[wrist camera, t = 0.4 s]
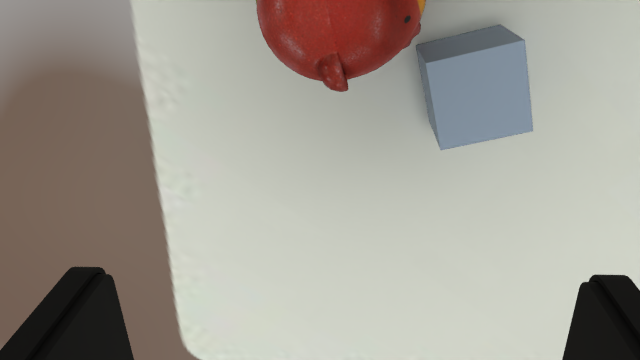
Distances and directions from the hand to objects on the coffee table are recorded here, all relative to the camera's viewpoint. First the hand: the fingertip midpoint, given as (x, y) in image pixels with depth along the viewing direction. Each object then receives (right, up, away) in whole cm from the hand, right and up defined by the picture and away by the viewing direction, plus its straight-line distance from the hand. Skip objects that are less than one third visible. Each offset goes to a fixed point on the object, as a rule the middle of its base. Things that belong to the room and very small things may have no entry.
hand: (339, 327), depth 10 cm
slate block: (+10, +11, +28) cm, 32 cm away
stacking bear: (+1, +17, +26) cm, 31 cm away
